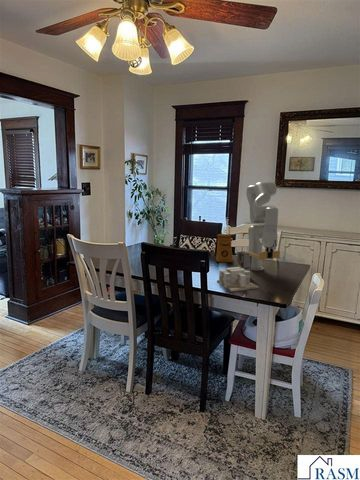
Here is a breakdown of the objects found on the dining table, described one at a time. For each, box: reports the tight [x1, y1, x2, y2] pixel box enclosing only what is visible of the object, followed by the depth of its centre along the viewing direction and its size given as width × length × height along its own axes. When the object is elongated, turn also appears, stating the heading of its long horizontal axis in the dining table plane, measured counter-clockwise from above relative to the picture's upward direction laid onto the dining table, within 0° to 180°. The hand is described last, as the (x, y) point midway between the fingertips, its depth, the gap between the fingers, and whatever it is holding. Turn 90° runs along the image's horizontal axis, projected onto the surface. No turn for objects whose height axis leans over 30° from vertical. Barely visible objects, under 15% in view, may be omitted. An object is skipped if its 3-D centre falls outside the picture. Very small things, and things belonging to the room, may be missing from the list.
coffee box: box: [235, 251, 252, 279], centre depth 219 cm, size 9×6×16 cm
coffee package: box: [215, 233, 233, 263], centre depth 257 cm, size 10×12×22 cm
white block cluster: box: [216, 266, 259, 292], centre depth 201 cm, size 19×18×9 cm
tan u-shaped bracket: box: [248, 249, 281, 260], centre depth 206 cm, size 12×14×4 cm
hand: (268, 257), depth 202 cm, fingers closed on tan u-shaped bracket, 1 cm apart
